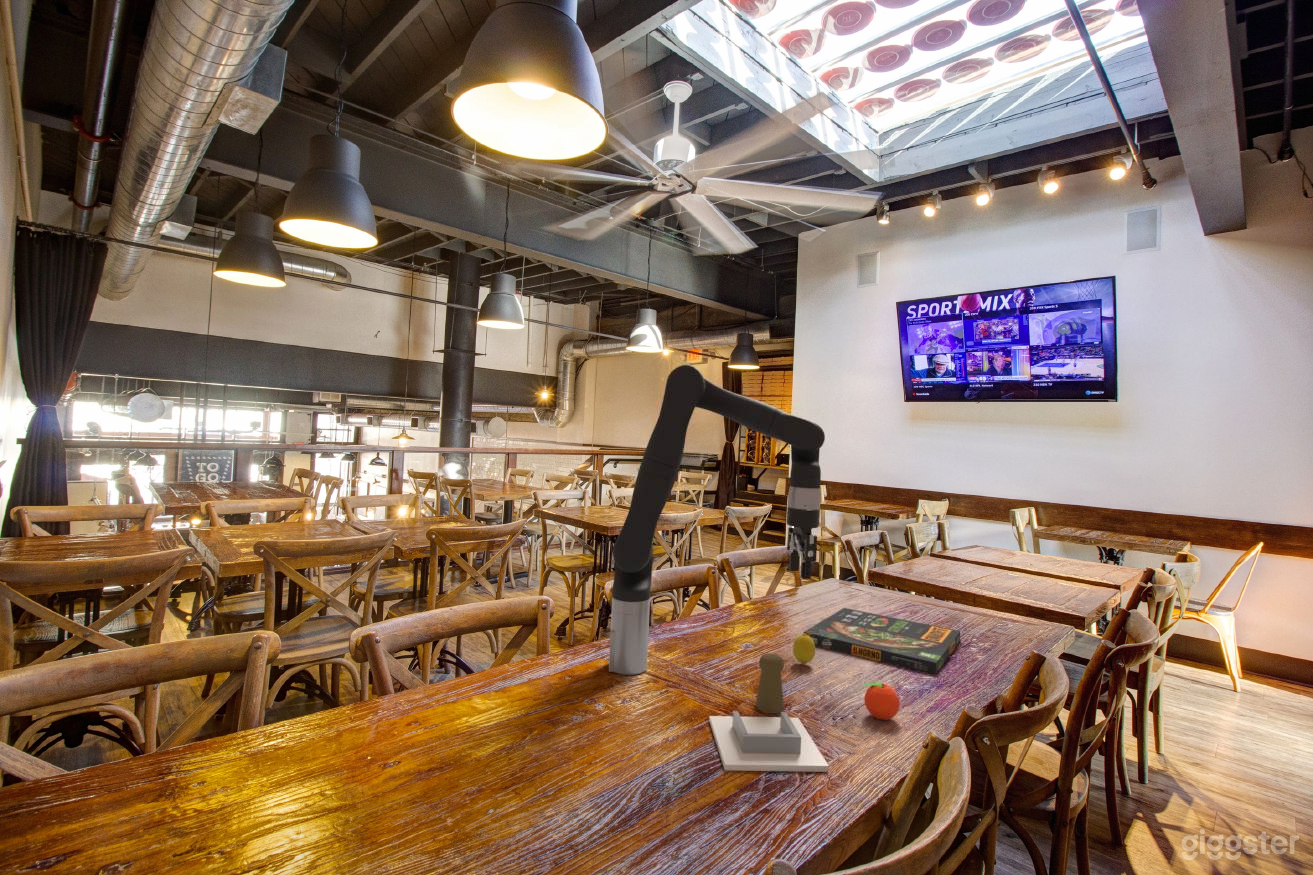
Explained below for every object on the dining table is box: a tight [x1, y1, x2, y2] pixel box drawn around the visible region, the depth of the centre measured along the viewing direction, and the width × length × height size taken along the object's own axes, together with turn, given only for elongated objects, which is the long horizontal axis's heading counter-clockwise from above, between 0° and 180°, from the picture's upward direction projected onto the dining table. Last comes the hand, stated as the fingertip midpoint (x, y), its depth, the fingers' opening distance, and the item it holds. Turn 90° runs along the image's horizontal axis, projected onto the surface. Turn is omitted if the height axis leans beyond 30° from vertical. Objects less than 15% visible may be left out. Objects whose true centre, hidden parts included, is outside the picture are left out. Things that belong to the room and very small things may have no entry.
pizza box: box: [803, 607, 961, 675], centre depth 175 cm, size 35×35×4 cm
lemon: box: [792, 632, 816, 666], centre depth 153 cm, size 6×6×8 cm
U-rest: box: [708, 710, 830, 773], centre depth 111 cm, size 18×18×4 cm
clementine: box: [859, 682, 901, 721], centre depth 125 cm, size 8×7×7 cm
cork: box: [755, 652, 785, 714], centre depth 128 cm, size 6×6×11 cm
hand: (799, 574), depth 142 cm, fingers open, 8 cm apart
